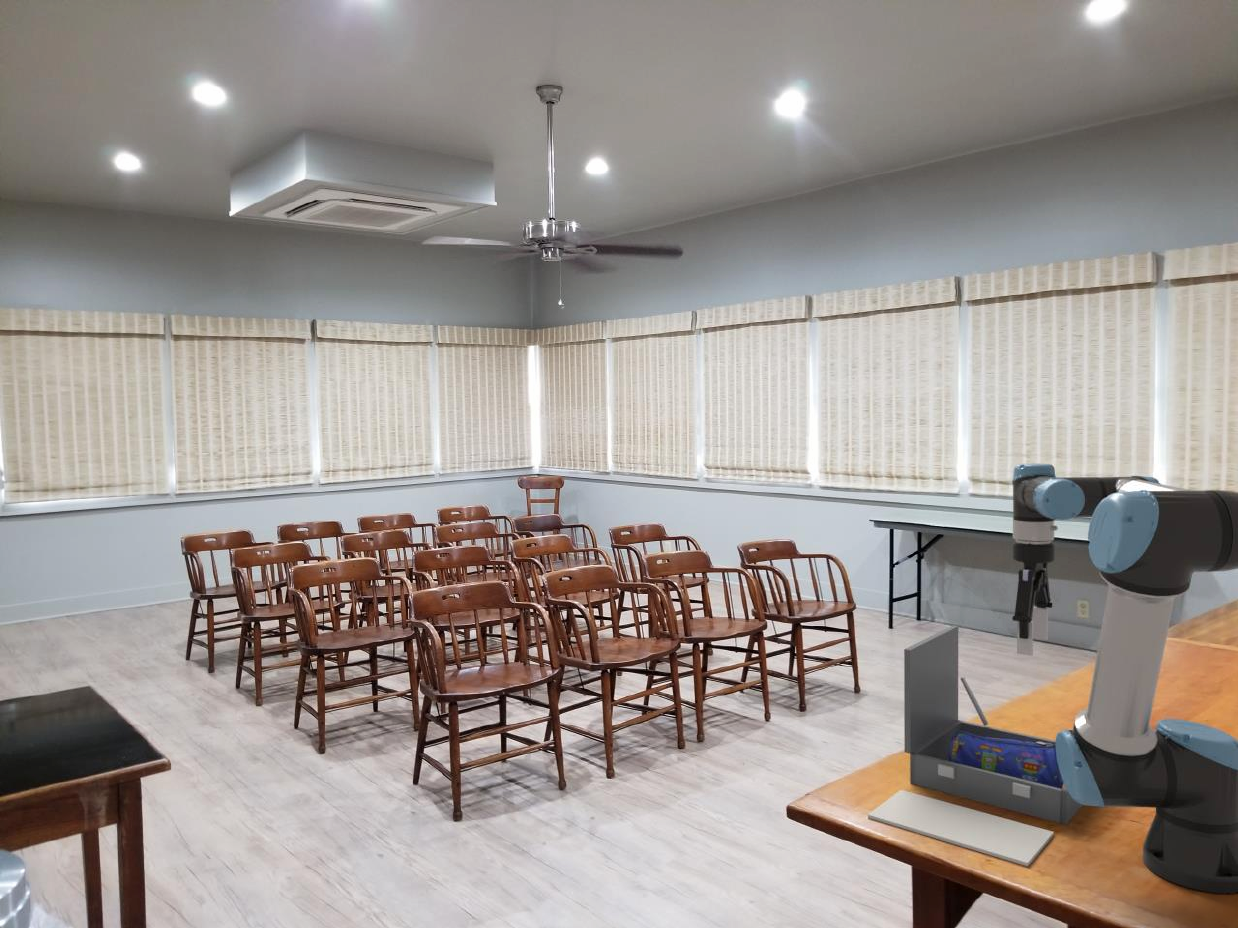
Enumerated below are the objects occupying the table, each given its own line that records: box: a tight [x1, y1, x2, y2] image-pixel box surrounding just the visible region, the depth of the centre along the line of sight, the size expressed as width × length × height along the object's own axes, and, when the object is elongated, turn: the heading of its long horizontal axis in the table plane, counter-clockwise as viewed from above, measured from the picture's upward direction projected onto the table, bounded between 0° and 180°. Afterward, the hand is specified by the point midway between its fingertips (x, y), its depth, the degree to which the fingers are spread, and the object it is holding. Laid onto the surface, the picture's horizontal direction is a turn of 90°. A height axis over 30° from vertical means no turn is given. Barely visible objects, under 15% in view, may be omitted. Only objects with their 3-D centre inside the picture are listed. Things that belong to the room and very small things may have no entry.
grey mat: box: [867, 789, 1055, 867], centre depth 161 cm, size 14×28×1 cm, turn 48°
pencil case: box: [947, 731, 1064, 789], centre depth 180 cm, size 22×9×10 cm, turn 60°
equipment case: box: [903, 625, 1083, 826], centre depth 179 cm, size 26×30×27 cm
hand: (1032, 646), depth 180 cm, fingers open, 13 cm apart
